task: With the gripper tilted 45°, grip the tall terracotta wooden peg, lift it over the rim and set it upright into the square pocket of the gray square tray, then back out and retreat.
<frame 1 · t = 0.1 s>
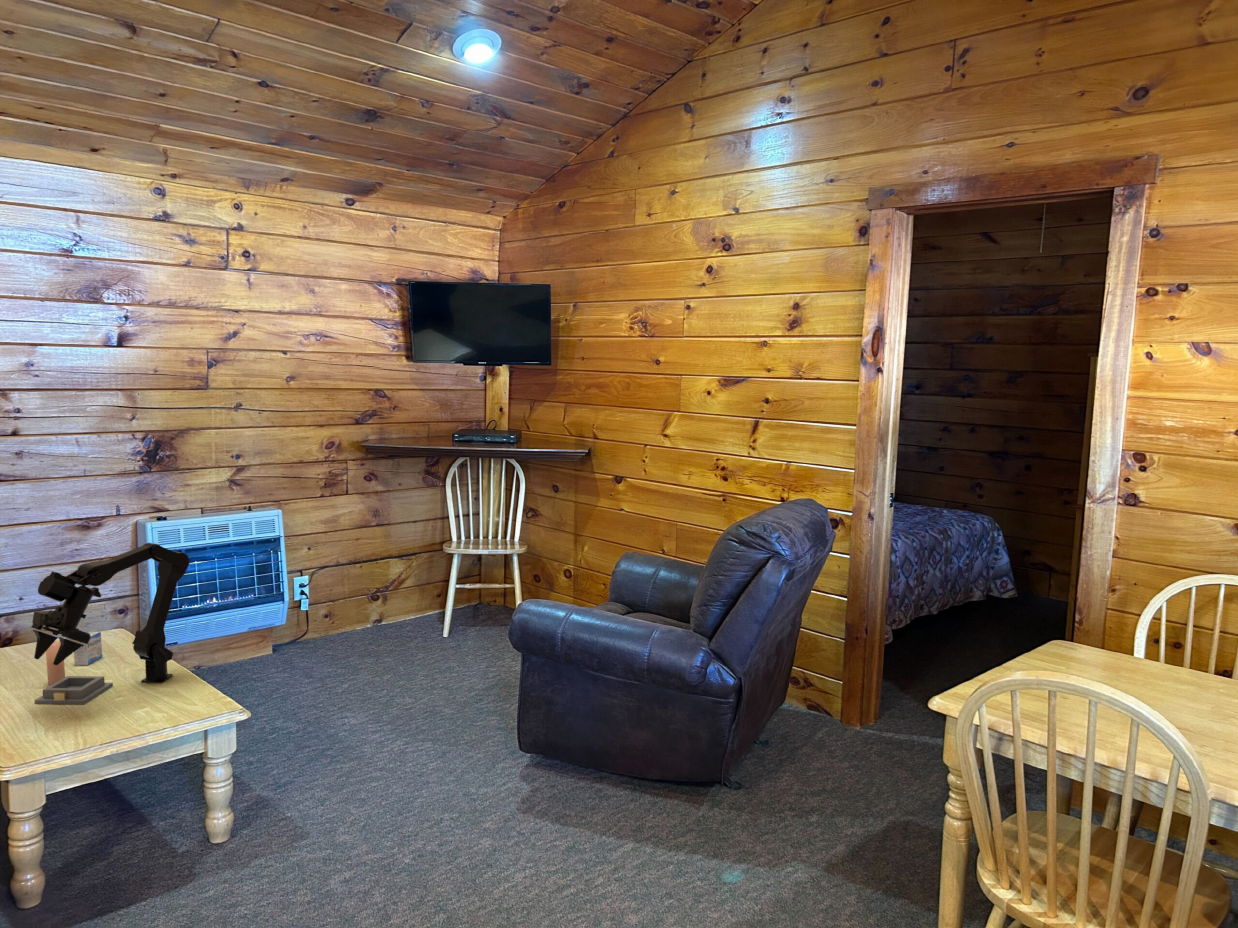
hand: (45, 661, 240), 15 cm above the table, tool tilted 35°, fingers open, 9 cm apart
gray square tray: (74, 694, 256), on the table
terracotta peg: (56, 682, 265), on the table
medicine box: (88, 661, 284), on the table
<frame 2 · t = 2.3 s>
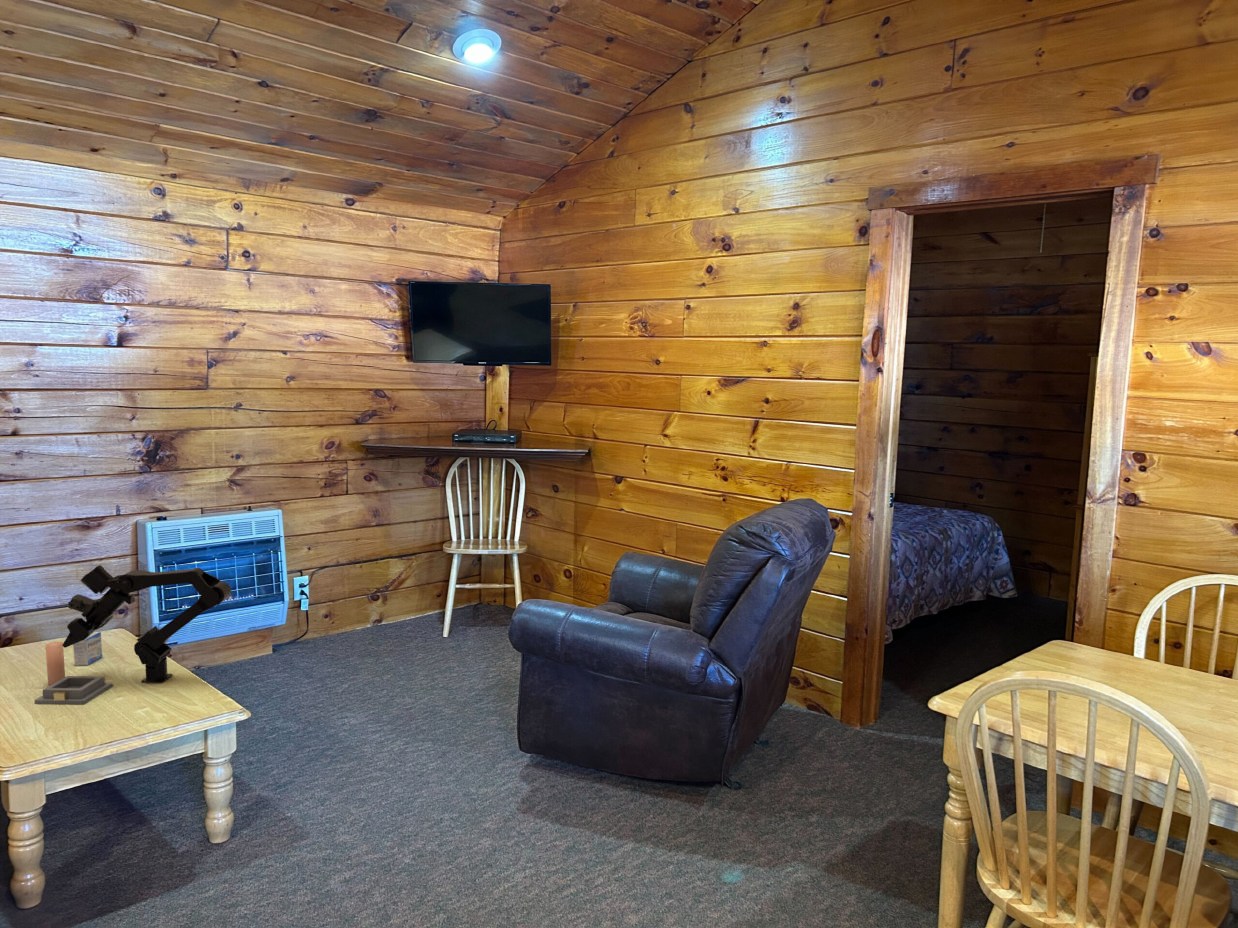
hand: (70, 641, 264), 13 cm above the table, tool tilted 45°, fingers open, 9 cm apart
nothing on the table moved.
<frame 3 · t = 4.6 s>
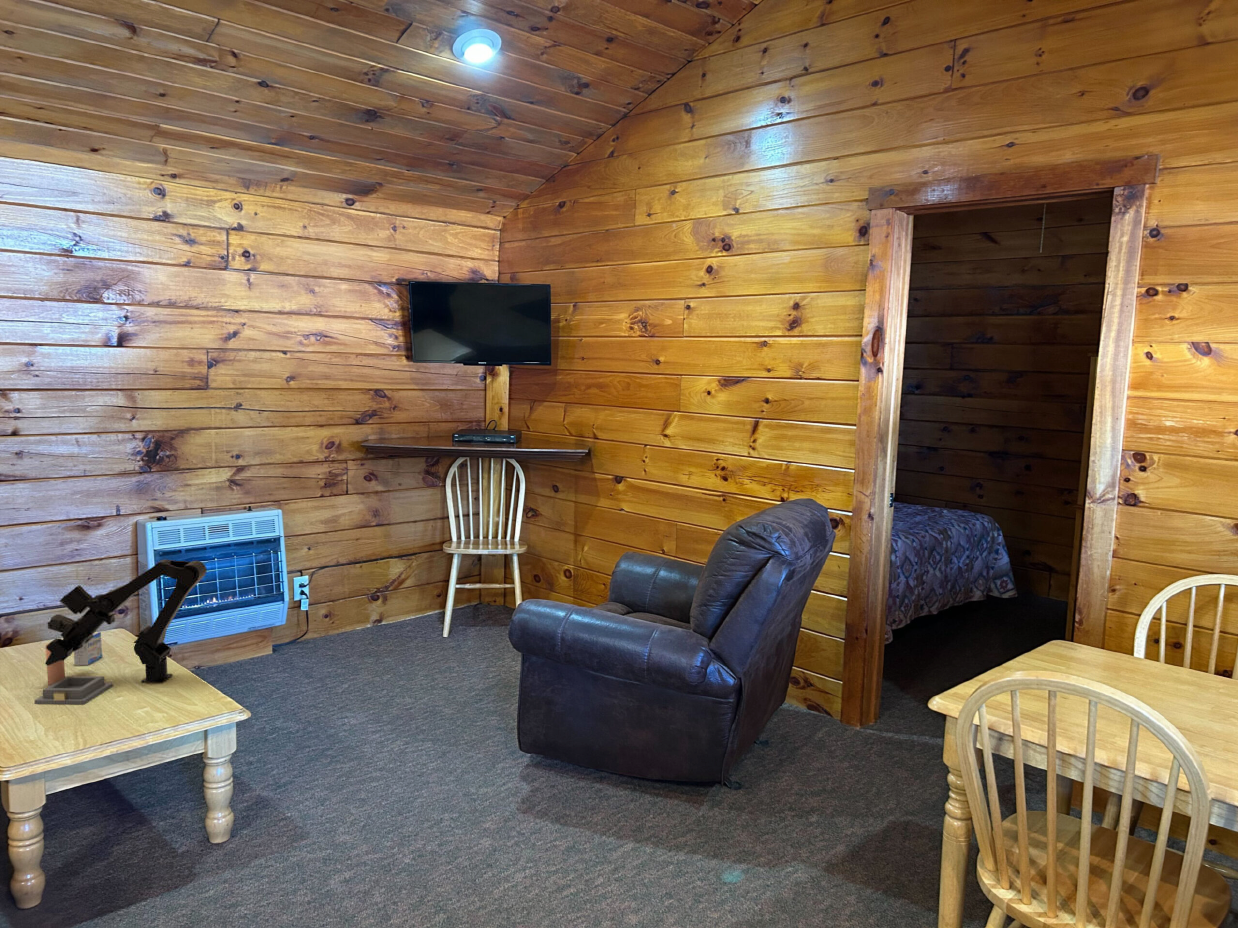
hand: (50, 661, 264), 7 cm above the table, tool tilted 45°, fingers closed on terracotta peg, 4 cm apart
terracotta peg: (56, 682, 265), on the table, touching gripper
everything else where it was.
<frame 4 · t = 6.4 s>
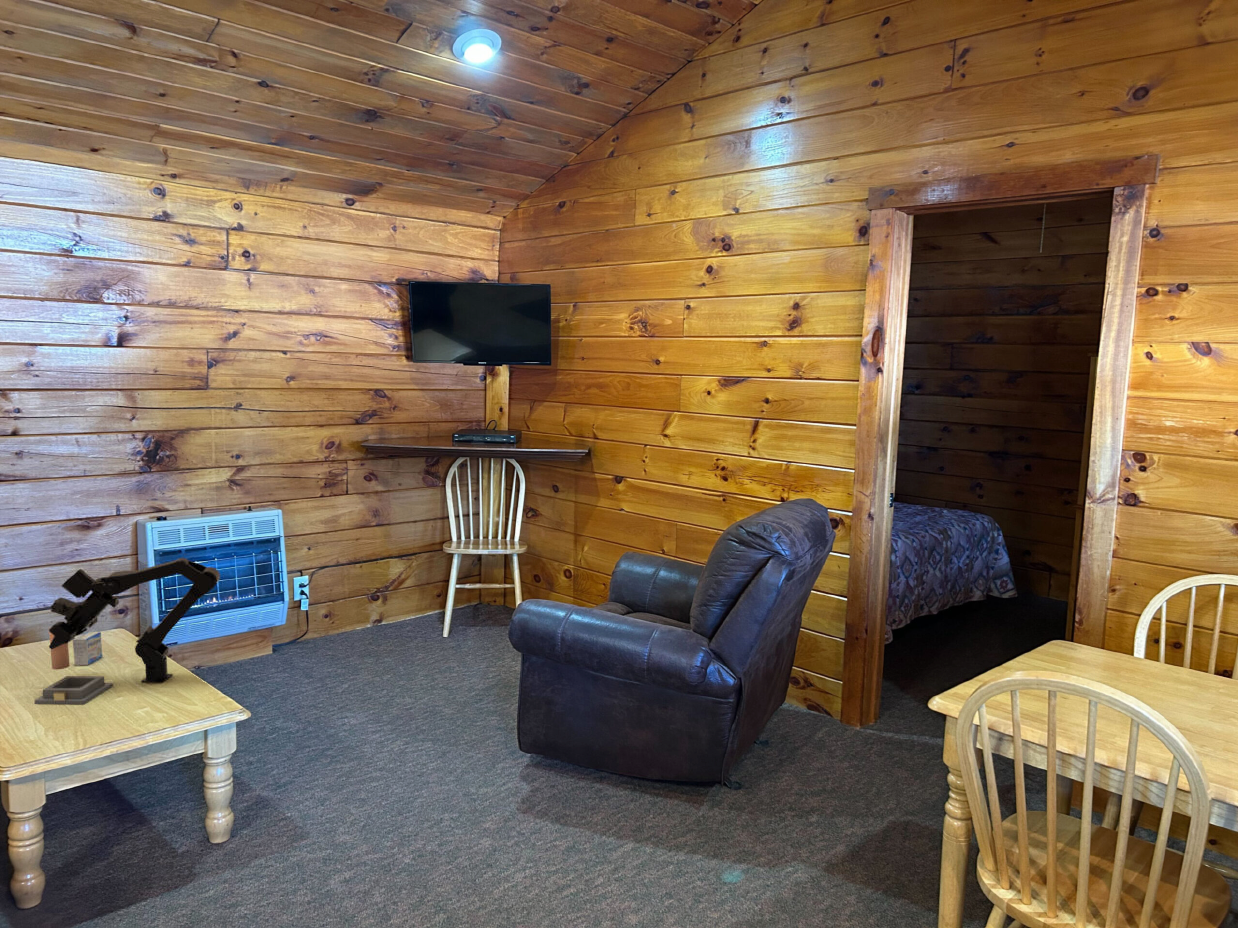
hand: (54, 645, 262), 12 cm above the table, tool tilted 45°, fingers closed on terracotta peg, 4 cm apart
terracotta peg: (61, 666, 263), point 6 cm above the table, touching gripper
everything else where it was.
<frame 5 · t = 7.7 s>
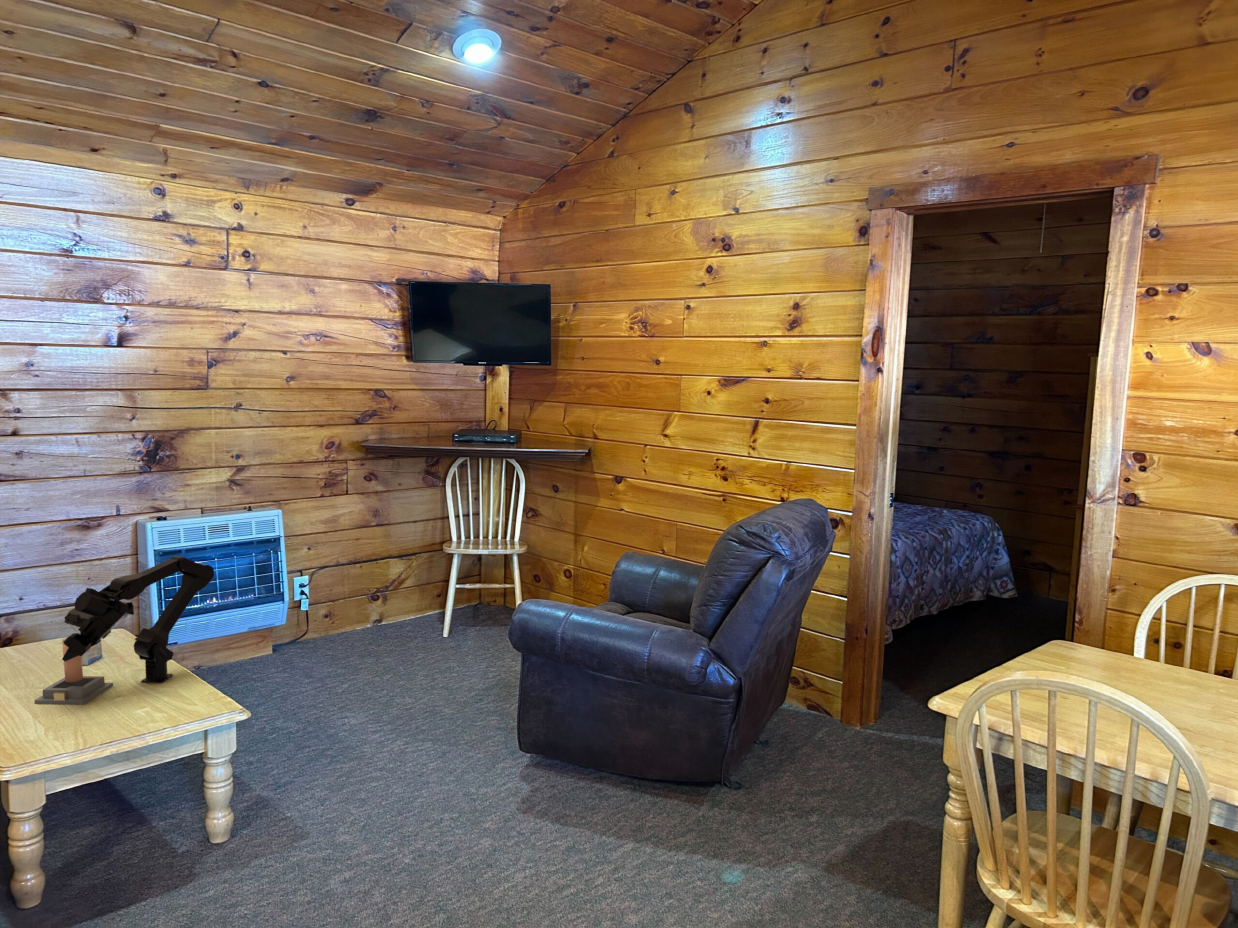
hand: (67, 657, 255), 11 cm above the table, tool tilted 45°, fingers closed on terracotta peg, 4 cm apart
terracotta peg: (74, 679, 256), point 5 cm above the table, touching gripper
everything else where it was.
when the fingers open (9 cm above the table, at t = 8.5 s): terracotta peg drops 1 cm, resting on gray square tray.
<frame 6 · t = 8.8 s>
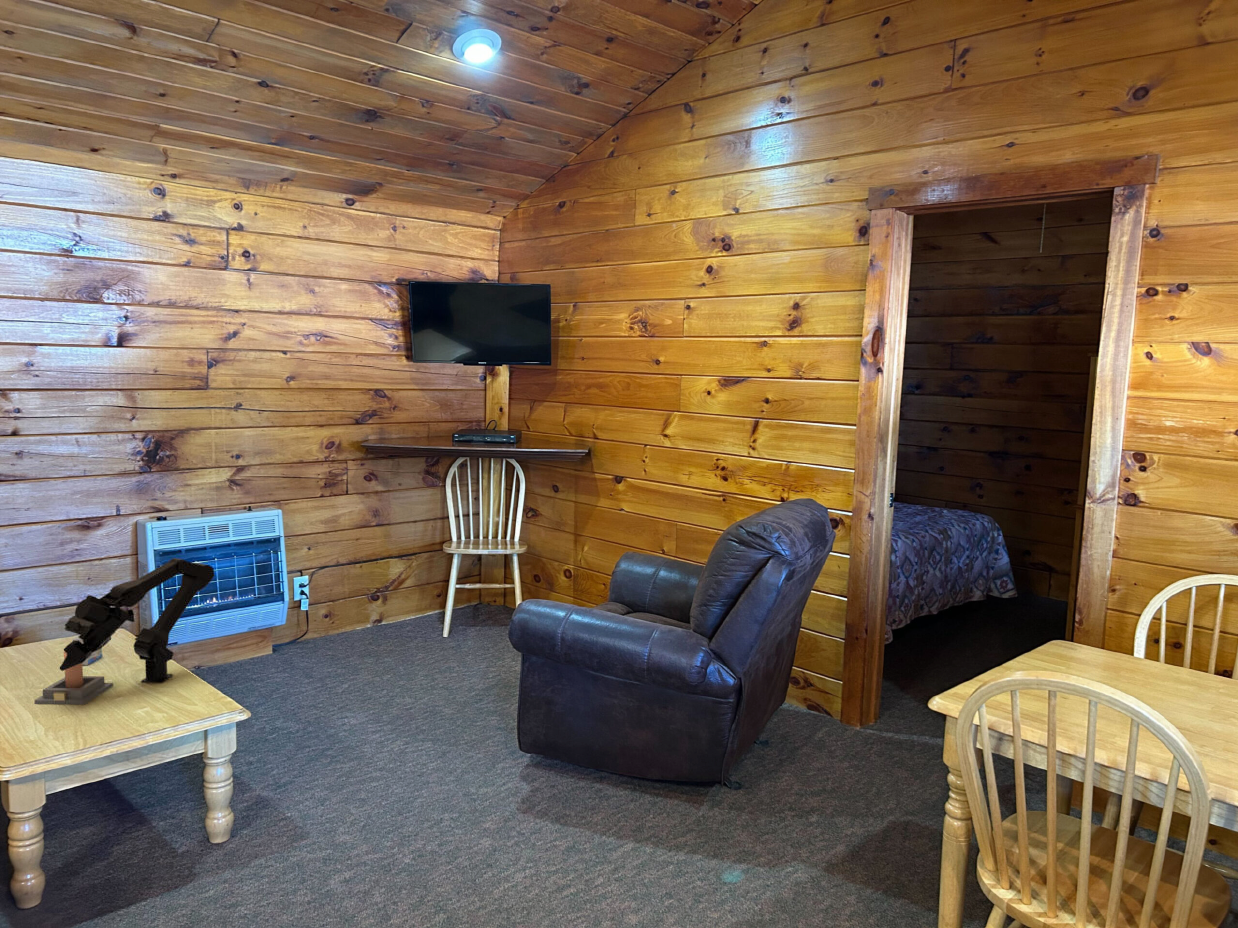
hand: (67, 664, 255), 9 cm above the table, tool tilted 45°, fingers open, 8 cm apart
terracotta peg: (74, 691, 256), point 1 cm above the table, touching gray square tray
everything else where it was.
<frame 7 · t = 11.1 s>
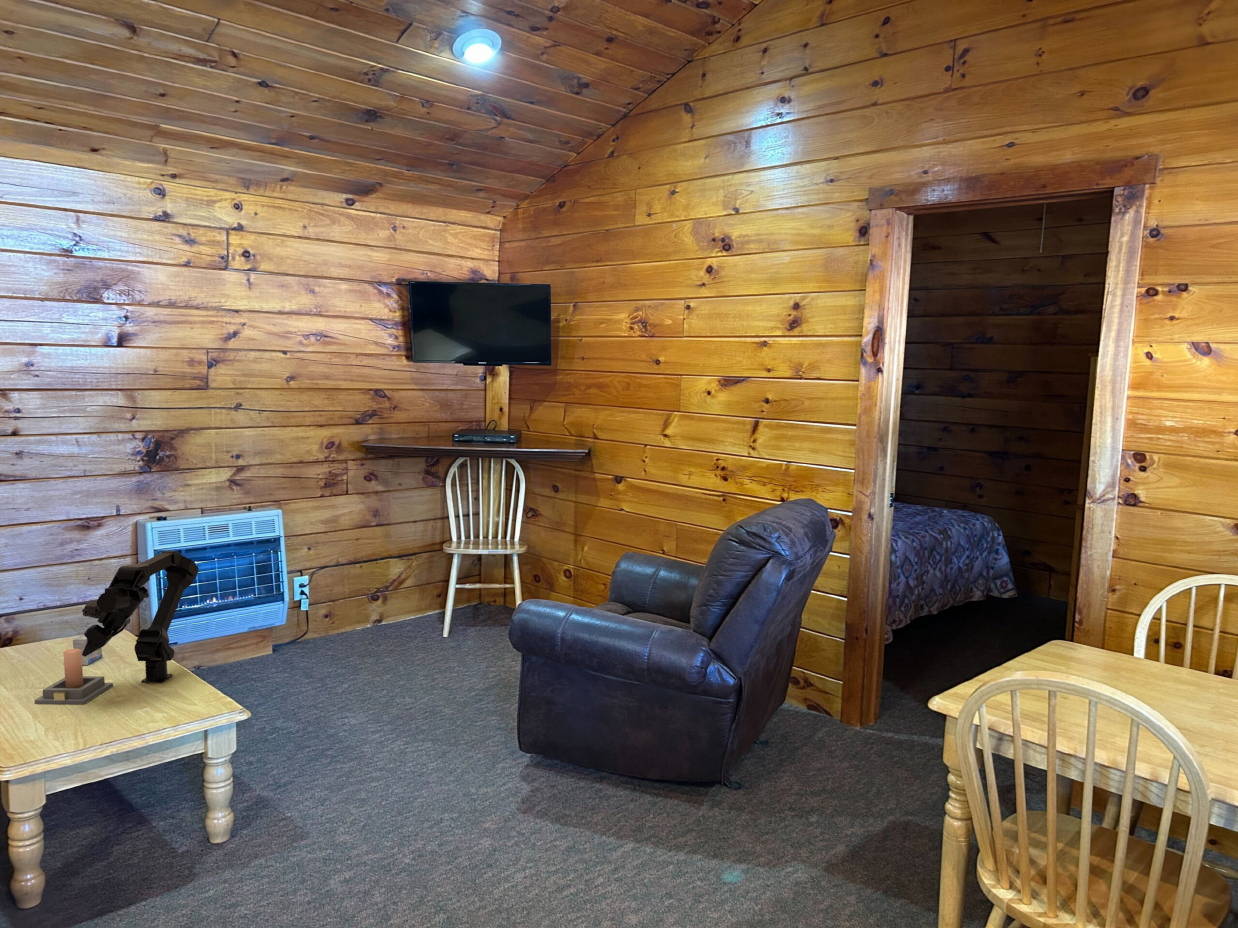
hand: (90, 650, 255), 13 cm above the table, tool tilted 40°, fingers open, 9 cm apart
nothing on the table moved.
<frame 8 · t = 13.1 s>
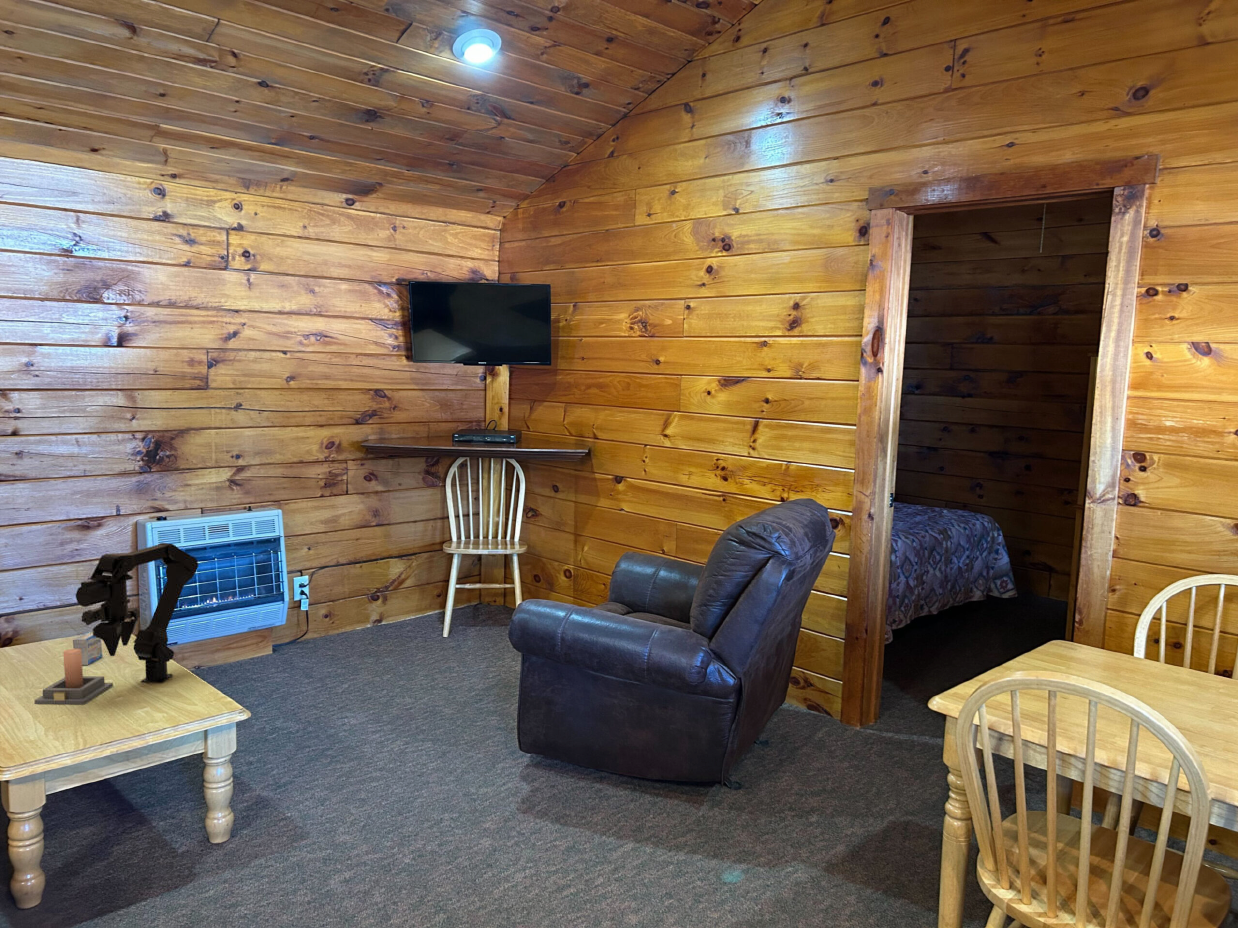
hand: (118, 650, 255), 13 cm above the table, tool pointing down, fingers open, 9 cm apart
nothing on the table moved.
at the end: terracotta peg 0.1 cm off-centre on the gray square tray, point 1.0 cm above the gray square tray's base; terracotta peg tilted 0°; the gripper is holding nothing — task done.
